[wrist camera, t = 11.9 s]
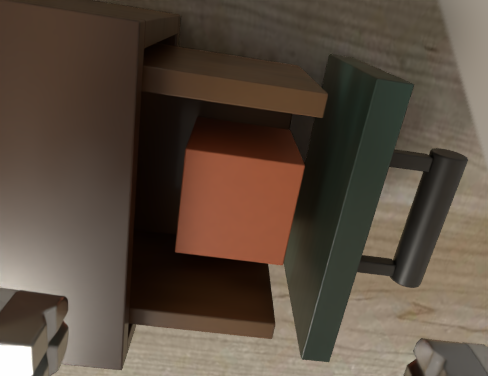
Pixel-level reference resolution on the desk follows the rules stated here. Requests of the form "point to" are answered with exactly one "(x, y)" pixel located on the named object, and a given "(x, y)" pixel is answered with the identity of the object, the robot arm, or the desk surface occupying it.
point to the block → (238, 191)
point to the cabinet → (74, 160)
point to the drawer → (309, 200)
